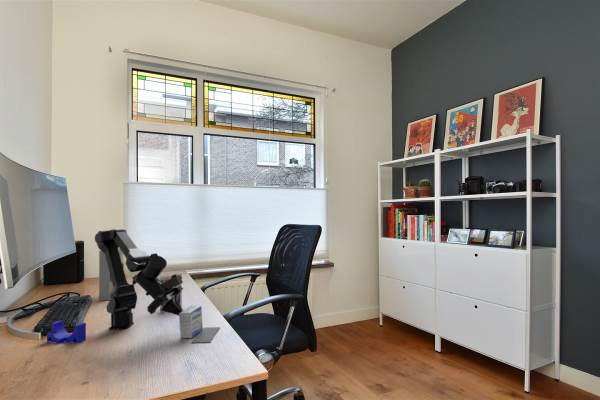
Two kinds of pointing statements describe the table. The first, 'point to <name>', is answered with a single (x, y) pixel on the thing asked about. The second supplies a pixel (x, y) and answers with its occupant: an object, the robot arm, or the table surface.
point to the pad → (206, 335)
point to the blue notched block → (66, 333)
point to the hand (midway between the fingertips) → (183, 315)
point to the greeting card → (167, 277)
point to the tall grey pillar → (106, 276)
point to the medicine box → (190, 321)
